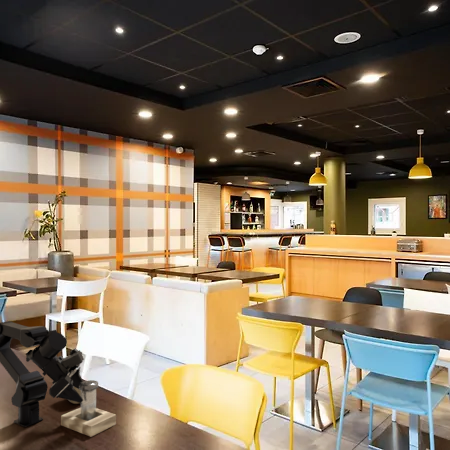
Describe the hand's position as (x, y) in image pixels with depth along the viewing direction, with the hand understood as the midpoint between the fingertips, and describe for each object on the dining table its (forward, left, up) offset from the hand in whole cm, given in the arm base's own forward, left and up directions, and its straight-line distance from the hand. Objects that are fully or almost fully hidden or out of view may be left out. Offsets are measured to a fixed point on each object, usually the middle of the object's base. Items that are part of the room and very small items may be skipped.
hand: (84, 395), depth 134 cm
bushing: (+1, +1, -9) cm, 9 cm away
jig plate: (+1, +1, -9) cm, 9 cm away
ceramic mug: (-18, +12, -9) cm, 24 cm away
